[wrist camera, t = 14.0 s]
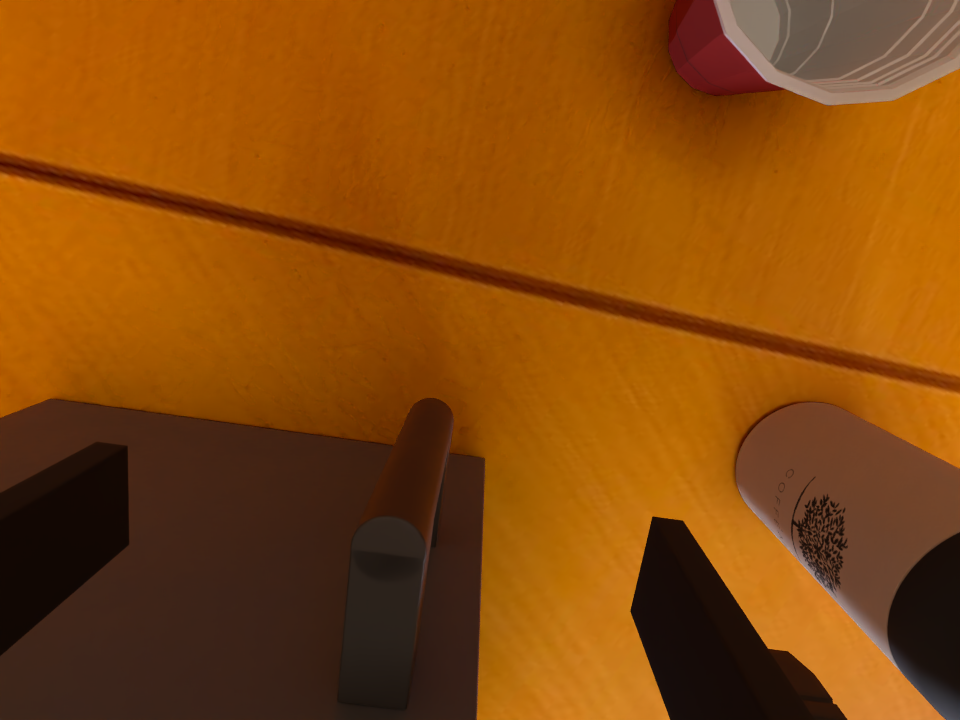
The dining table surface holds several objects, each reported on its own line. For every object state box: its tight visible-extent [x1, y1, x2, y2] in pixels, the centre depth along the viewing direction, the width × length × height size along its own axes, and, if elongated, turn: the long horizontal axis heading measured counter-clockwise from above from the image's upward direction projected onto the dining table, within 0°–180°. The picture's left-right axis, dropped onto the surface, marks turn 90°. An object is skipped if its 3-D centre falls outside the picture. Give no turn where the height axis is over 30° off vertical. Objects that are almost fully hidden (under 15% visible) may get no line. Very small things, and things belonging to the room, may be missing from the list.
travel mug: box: [736, 402, 960, 720], centre depth 24 cm, size 8×8×18 cm
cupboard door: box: [0, 398, 485, 720], centre depth 19 cm, size 7×26×26 cm, turn 82°
